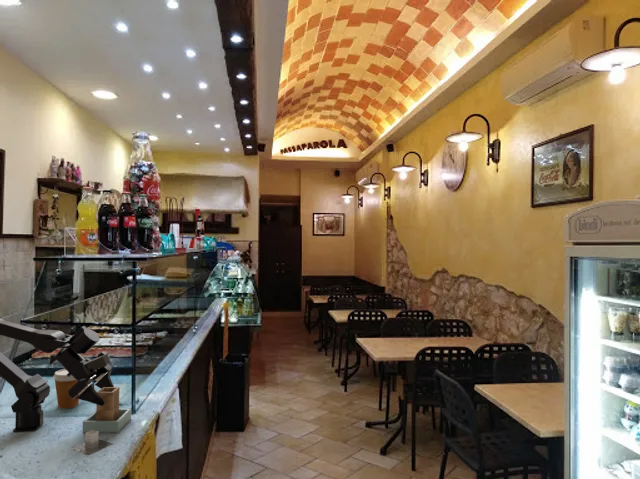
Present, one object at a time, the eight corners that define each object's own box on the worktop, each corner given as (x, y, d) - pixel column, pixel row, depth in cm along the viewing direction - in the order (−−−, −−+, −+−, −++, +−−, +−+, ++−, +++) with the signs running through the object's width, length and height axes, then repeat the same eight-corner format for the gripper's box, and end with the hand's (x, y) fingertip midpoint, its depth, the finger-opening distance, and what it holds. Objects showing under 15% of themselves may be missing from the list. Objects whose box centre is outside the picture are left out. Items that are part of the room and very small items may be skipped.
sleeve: (96, 427, 143) (96, 392, 143) (102, 421, 148) (103, 387, 148) (112, 428, 143) (113, 392, 143) (118, 421, 148) (119, 387, 148)
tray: (82, 434, 140) (82, 421, 140) (97, 420, 151) (98, 408, 151) (118, 435, 141) (118, 422, 141) (130, 421, 151) (131, 408, 151)
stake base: (69, 450, 130) (69, 434, 130) (94, 439, 137) (94, 424, 137) (88, 457, 127) (88, 440, 127) (113, 445, 134) (113, 429, 134)
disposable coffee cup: (62, 412, 157) (62, 377, 157) (47, 406, 162) (47, 372, 162) (89, 404, 165) (89, 370, 165) (73, 398, 170) (74, 366, 170)
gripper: (79, 353, 136) (116, 391, 137) (106, 339, 155) (139, 372, 155) (51, 379, 136) (88, 417, 136) (81, 362, 155) (114, 395, 155)
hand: (109, 399), depth 146 cm, fingers open, 9 cm apart
